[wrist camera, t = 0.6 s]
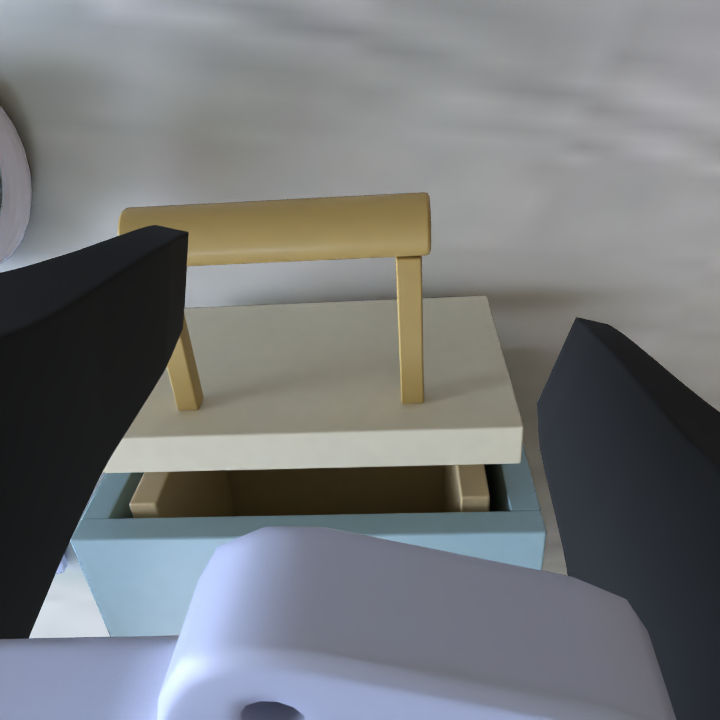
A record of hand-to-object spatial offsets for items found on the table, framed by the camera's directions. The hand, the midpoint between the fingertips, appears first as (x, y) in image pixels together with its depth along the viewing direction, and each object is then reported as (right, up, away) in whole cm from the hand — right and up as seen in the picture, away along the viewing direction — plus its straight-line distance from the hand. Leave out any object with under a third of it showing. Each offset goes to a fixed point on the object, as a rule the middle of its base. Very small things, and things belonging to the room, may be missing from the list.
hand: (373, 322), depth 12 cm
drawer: (-1, -3, +13) cm, 14 cm away
